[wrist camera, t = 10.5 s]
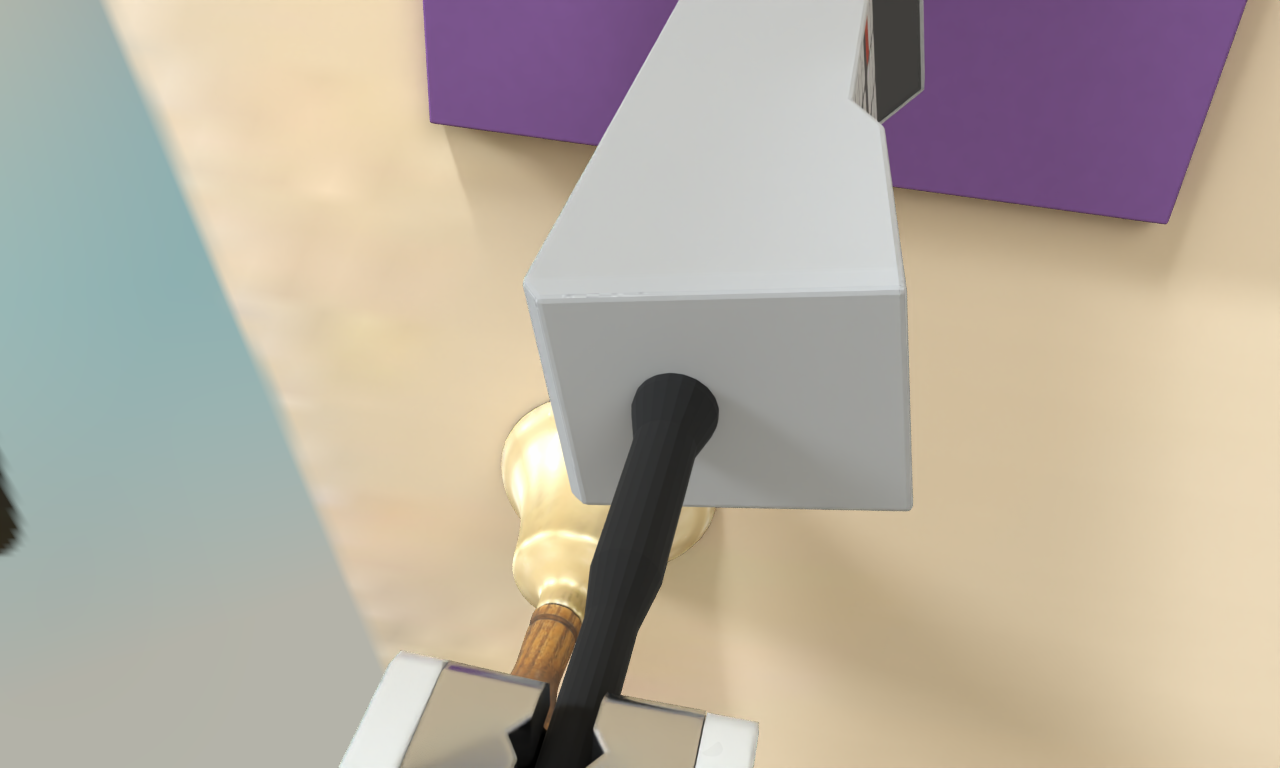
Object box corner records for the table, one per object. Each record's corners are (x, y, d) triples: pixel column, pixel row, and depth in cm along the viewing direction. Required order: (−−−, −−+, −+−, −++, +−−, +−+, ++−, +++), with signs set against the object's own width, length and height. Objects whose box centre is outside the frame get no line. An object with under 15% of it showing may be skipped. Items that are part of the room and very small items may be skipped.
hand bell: (602, 590, 48) (480, 969, 36) (459, 455, 46) (273, 812, 33) (762, 510, 44) (688, 907, 31) (615, 355, 41) (470, 722, 29)
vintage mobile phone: (926, 72, 30) (894, 1193, 10) (728, 87, 31) (339, 1104, 11) (923, -84, 27) (875, 933, 8) (711, -61, 29) (193, 862, 9)
